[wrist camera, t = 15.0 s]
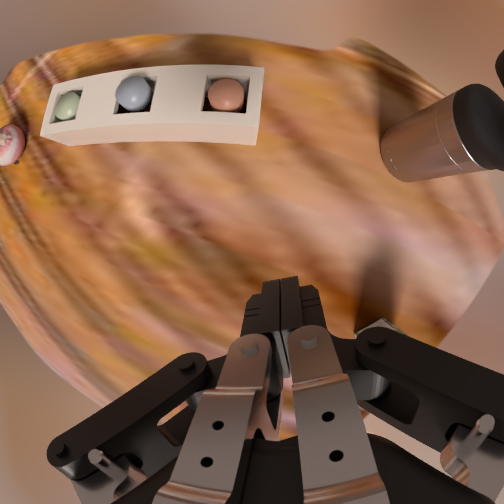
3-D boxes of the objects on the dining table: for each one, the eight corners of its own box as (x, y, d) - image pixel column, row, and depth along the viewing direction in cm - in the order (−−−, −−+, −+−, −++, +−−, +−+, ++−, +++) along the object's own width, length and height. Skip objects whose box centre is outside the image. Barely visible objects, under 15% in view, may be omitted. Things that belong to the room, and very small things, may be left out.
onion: (37, 141, 34) (15, 145, 28) (17, 171, 36) (-4, 179, 29) (18, 115, 31) (-4, 117, 25) (-1, 146, 32) (-22, 151, 26)
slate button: (155, 82, 27) (149, 74, 25) (149, 111, 28) (142, 103, 25) (127, 85, 27) (119, 77, 24) (120, 113, 27) (112, 106, 25)
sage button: (88, 95, 28) (80, 89, 26) (82, 121, 29) (72, 116, 26) (67, 99, 28) (59, 94, 25) (61, 124, 28) (52, 120, 26)
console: (260, 94, 34) (264, 67, 26) (255, 145, 35) (258, 127, 27) (78, 101, 33) (53, 85, 25) (69, 146, 34) (39, 135, 26)
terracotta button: (245, 89, 29) (245, 79, 27) (242, 117, 30) (241, 109, 27) (212, 87, 29) (210, 78, 26) (208, 115, 29) (205, 107, 27)
